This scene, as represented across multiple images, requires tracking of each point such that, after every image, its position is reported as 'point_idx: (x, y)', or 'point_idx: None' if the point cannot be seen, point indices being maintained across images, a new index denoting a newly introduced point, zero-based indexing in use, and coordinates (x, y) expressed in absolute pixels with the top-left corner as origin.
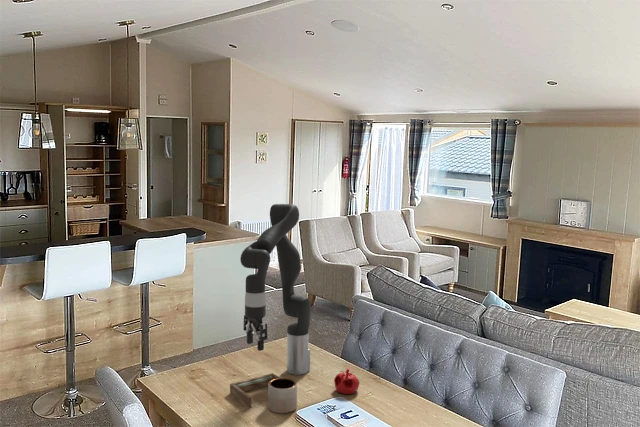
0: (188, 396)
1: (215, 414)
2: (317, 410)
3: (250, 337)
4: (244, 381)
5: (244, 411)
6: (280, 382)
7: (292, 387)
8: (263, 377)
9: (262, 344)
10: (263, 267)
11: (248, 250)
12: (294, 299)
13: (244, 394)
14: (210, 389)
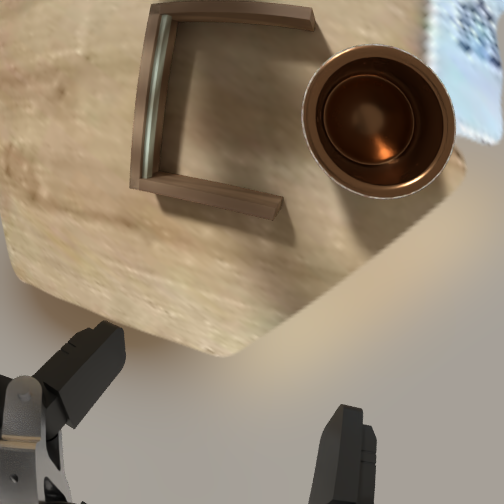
0: (107, 272)
1: (240, 301)
2: (472, 60)
3: (87, 382)
4: (141, 133)
5: (288, 234)
6: (326, 85)
7: (455, 131)
8: (154, 49)
9: (367, 479)
10: None
11: None
12: None
13: (235, 211)
14: (98, 204)
